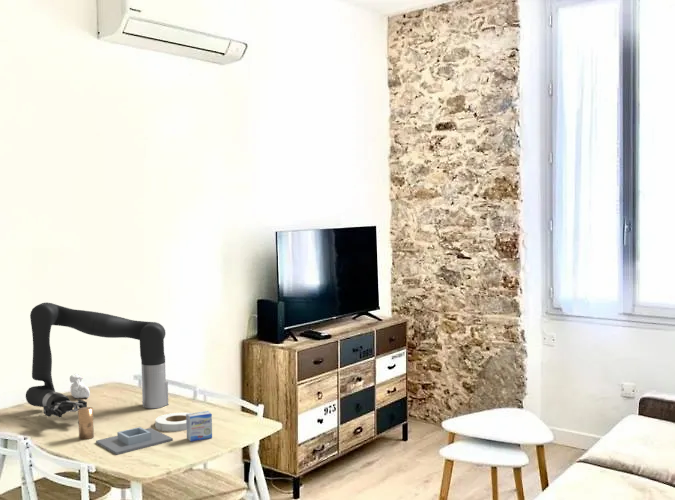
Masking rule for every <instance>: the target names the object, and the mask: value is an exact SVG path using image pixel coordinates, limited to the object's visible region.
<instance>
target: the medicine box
mask: <svg viewBox="0 0 675 500" xmlns="http://www.w3.org/2000/svg"><path fill="white" fill-rule="evenodd" d="M190 413H191V414H186V427H187V430H186V439H187V440H188V441H189V442H192V443H193V442H197V441H202V440H208V439H212V438H213V417H212V415H213V414H212V413H211V412H210V411H209V410H207V411H206V410H205V411H198V412H190Z"/></svg>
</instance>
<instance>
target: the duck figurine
mask: <svg viewBox="0 0 675 500" xmlns="http://www.w3.org/2000/svg"><path fill="white" fill-rule="evenodd" d="M83 379H84V378H83V376H82V375H79V374H77V373H73V374H72V375H70V376H69V382H70V383H71V385H70V391H69V392H70V394H71V396H72V397H73V398H75V399H82V398H83V399H86V398H89V397H90V395H91V391H90V389H89V387H88V386H87V385H85V383H84V382H82V380H83Z"/></svg>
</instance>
